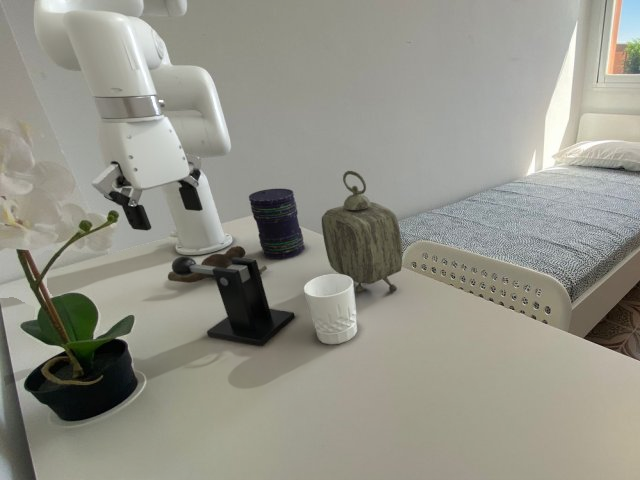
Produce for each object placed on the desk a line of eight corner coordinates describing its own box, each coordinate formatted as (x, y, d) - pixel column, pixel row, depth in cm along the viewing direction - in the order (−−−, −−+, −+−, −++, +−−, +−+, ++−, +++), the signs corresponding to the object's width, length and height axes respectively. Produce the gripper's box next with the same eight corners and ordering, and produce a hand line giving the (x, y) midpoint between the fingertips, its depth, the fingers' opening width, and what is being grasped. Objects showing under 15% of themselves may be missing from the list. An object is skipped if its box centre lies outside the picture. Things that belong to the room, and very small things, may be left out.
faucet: (223, 257, 101) (283, 266, 100) (170, 288, 85) (239, 299, 85) (221, 239, 99) (281, 249, 98) (165, 267, 83) (236, 279, 83)
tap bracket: (208, 336, 72) (184, 272, 66) (245, 309, 80) (227, 250, 74) (262, 346, 70) (242, 280, 64) (295, 317, 78) (280, 256, 72)
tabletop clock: (405, 291, 87) (395, 173, 75) (370, 309, 81) (353, 183, 69) (364, 270, 95) (349, 161, 84) (329, 285, 89) (308, 170, 77)
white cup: (369, 332, 74) (362, 284, 69) (328, 353, 68) (318, 302, 64) (345, 315, 78) (337, 269, 74) (306, 333, 73) (295, 285, 69)
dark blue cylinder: (313, 248, 106) (302, 192, 99) (279, 263, 98) (265, 203, 91) (289, 240, 110) (276, 186, 103) (254, 254, 103) (239, 196, 96)
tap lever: (170, 279, 72) (163, 260, 70) (188, 269, 75) (181, 252, 73) (239, 289, 69) (233, 270, 67) (254, 279, 72) (249, 260, 70)
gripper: (163, 103, 69) (194, 202, 77) (44, 115, 54) (98, 235, 62) (199, 104, 67) (228, 205, 75) (87, 116, 52) (138, 240, 60)
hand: (169, 218), depth 68 cm, fingers open, 9 cm apart
